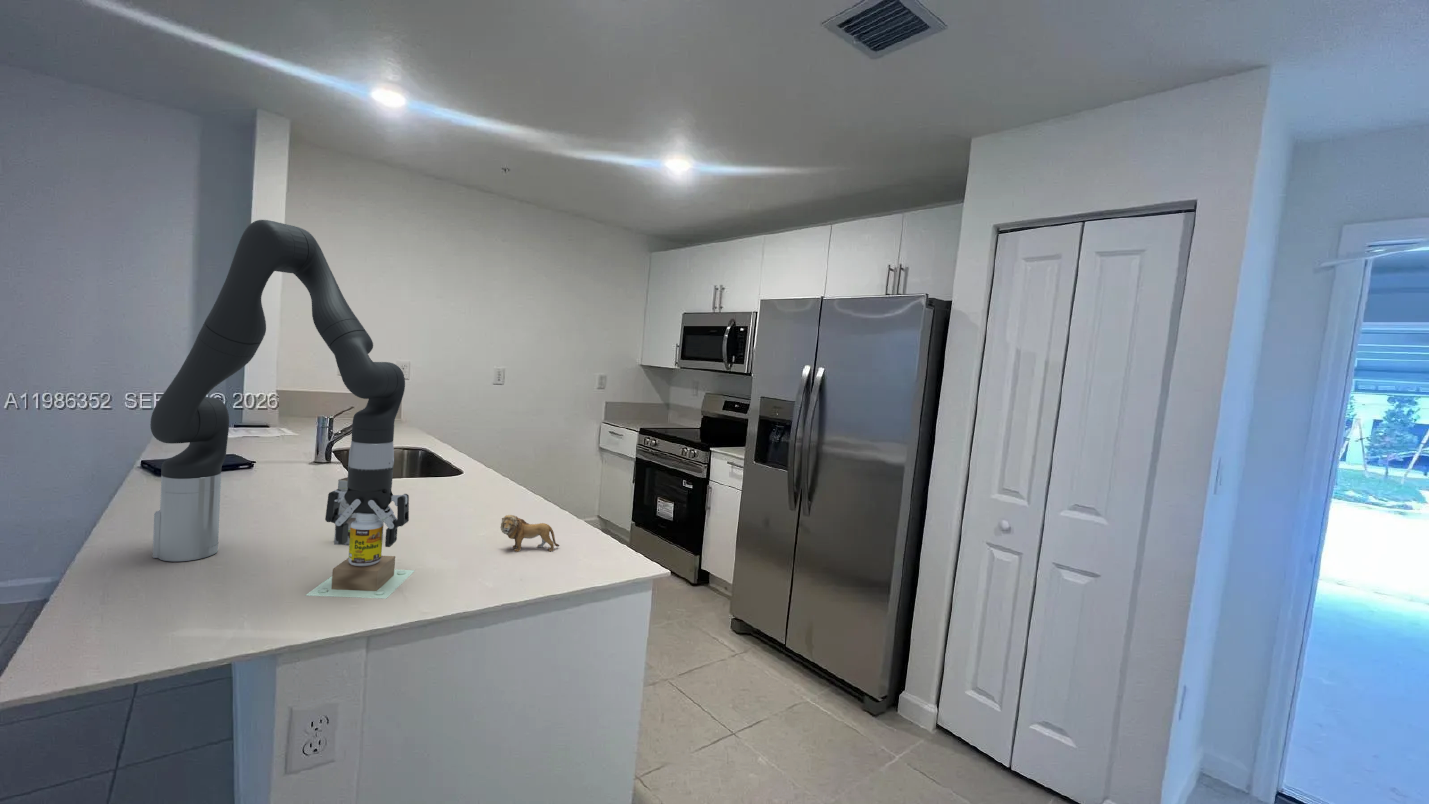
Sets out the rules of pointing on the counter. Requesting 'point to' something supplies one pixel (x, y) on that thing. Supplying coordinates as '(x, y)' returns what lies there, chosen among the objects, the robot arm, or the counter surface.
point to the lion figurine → (526, 531)
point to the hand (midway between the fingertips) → (366, 544)
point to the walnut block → (363, 575)
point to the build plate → (382, 592)
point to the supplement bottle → (365, 540)
